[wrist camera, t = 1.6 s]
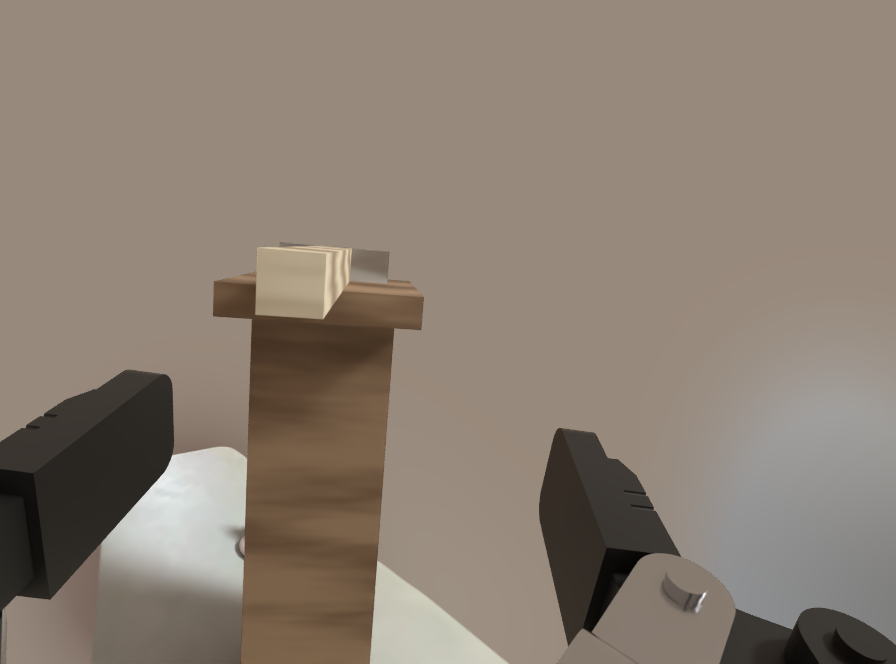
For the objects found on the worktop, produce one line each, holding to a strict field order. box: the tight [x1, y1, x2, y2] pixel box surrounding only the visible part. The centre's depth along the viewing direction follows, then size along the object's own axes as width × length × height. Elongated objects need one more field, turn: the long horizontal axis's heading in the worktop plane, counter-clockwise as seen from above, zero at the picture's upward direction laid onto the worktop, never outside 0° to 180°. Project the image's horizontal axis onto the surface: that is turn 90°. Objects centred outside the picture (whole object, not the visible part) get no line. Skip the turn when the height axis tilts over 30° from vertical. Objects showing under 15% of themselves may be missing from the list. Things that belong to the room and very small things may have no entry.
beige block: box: [255, 242, 389, 319], centre depth 31 cm, size 24×8×2 cm, turn 8°
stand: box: [213, 272, 424, 664], centre depth 40 cm, size 14×12×32 cm
